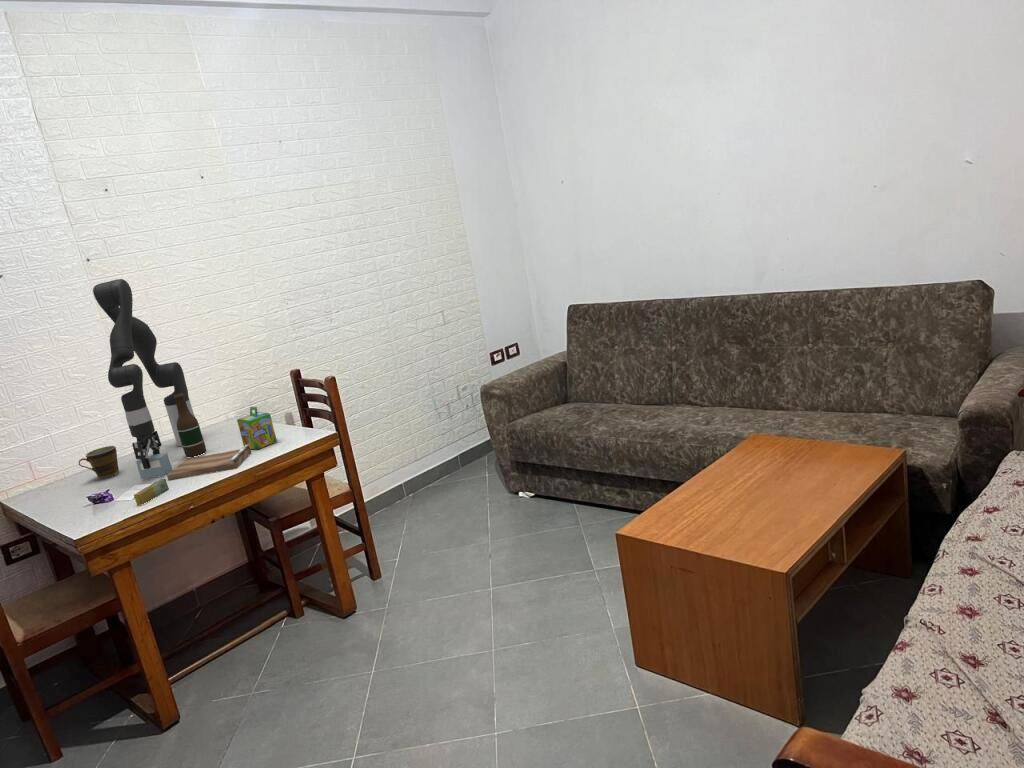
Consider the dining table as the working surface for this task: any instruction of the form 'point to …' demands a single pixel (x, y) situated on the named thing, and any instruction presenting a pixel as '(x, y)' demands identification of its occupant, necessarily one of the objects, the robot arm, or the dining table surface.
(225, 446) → the dining table surface
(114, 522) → the dining table surface
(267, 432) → the colorful gift box
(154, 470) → the tea carton
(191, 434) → the beer bottle
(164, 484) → the medication box
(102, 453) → the ceramic cup
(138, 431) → the robot arm
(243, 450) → the wooden tray
